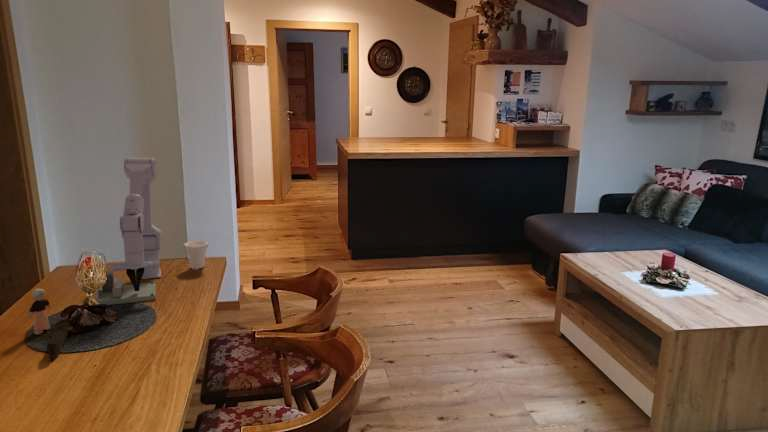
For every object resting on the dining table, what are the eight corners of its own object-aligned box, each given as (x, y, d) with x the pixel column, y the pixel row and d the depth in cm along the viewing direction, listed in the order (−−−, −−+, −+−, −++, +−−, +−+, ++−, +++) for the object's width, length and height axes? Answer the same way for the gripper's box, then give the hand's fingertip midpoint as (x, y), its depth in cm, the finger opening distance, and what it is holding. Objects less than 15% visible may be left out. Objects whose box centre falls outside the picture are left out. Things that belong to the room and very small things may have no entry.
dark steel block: (103, 288, 186) (101, 271, 185) (114, 287, 188) (113, 270, 186) (102, 292, 183) (100, 275, 181) (114, 291, 184) (112, 274, 183)
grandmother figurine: (41, 336, 154) (36, 293, 151) (27, 335, 154) (22, 293, 151) (57, 324, 162) (53, 283, 159) (44, 324, 162) (39, 283, 159)
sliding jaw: (114, 286, 187) (114, 278, 187) (122, 285, 188) (122, 277, 188) (113, 297, 178) (112, 288, 178) (121, 296, 179) (120, 287, 179)
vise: (91, 292, 186) (90, 279, 185) (155, 286, 194) (154, 273, 193) (87, 306, 175) (86, 292, 174) (155, 299, 182) (155, 285, 181)
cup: (184, 264, 217) (183, 240, 215) (209, 263, 220) (208, 239, 218) (183, 272, 209) (182, 246, 207) (209, 270, 212) (208, 245, 209)
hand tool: (57, 332, 157) (55, 317, 156) (72, 331, 159) (71, 316, 158) (39, 364, 140) (37, 348, 139) (57, 362, 141) (55, 346, 140)
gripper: (108, 256, 173) (111, 296, 176) (158, 252, 179) (160, 291, 182) (109, 249, 180) (113, 289, 183) (158, 246, 185) (160, 284, 188)
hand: (137, 290), depth 183 cm, fingers closed
